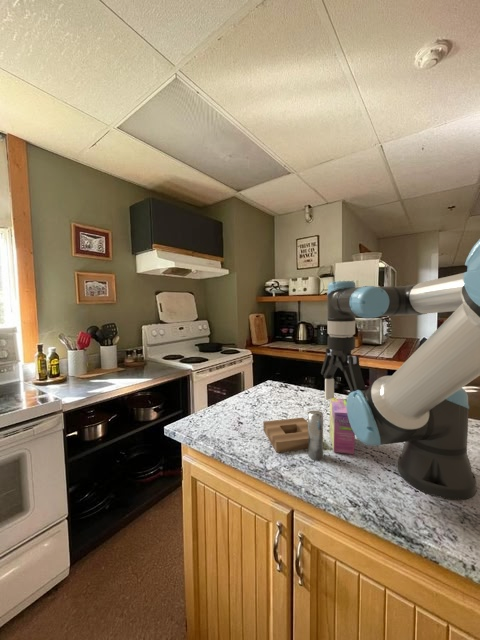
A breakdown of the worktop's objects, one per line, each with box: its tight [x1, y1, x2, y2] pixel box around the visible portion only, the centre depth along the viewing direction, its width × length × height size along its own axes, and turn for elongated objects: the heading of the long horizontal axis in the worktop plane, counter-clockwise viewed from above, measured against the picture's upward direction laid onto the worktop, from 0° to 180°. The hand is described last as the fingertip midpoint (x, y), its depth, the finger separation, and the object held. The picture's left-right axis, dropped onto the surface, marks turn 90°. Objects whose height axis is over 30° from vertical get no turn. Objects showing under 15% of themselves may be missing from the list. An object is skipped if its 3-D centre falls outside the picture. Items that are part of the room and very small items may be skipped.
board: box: [262, 417, 308, 453], centre depth 87 cm, size 14×14×3 cm
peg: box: [307, 410, 324, 461], centre depth 77 cm, size 4×4×12 cm
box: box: [328, 398, 356, 455], centre depth 82 cm, size 10×6×12 cm, turn 168°
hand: (340, 407), depth 82 cm, fingers open, 13 cm apart
